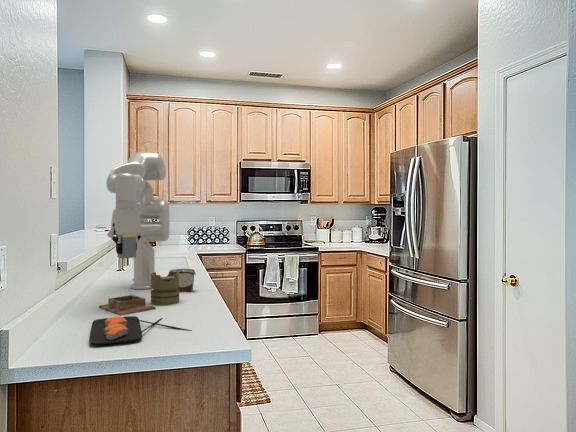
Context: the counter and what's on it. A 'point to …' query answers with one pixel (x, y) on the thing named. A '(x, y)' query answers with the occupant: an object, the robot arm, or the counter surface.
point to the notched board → (126, 305)
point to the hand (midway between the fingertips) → (126, 252)
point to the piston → (165, 289)
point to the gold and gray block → (128, 246)
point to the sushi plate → (119, 330)
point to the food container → (185, 279)
